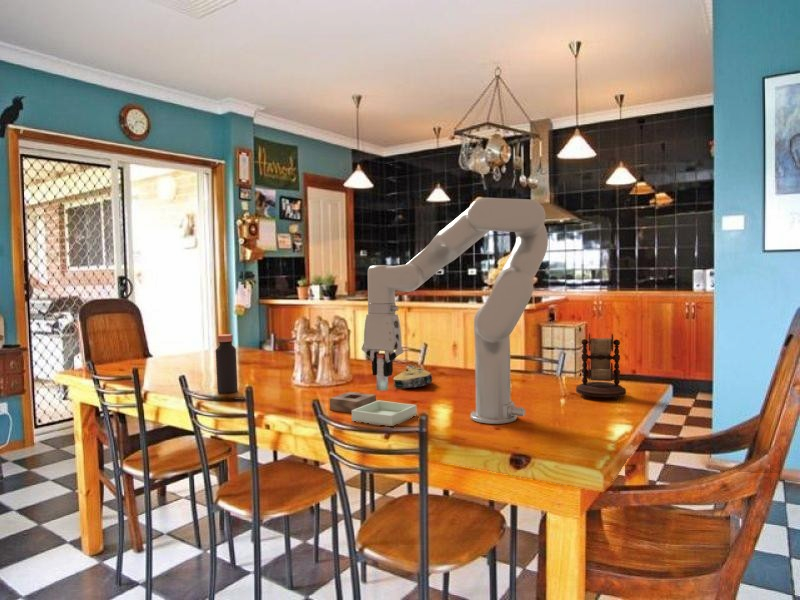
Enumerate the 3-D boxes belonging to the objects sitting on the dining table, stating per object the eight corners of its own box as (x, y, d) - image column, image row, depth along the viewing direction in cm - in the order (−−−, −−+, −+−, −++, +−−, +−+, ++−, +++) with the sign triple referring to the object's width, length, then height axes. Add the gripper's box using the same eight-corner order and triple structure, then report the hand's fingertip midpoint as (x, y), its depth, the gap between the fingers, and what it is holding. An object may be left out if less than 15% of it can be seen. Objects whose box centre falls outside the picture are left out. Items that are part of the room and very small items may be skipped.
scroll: (624, 392, 184) (624, 330, 183) (627, 403, 170) (627, 336, 169) (576, 390, 189) (576, 330, 188) (576, 400, 175) (575, 335, 174)
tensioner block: (376, 406, 174) (375, 394, 174) (356, 413, 165) (356, 401, 165) (350, 402, 179) (349, 391, 179) (329, 409, 171) (329, 398, 171)
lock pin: (390, 388, 160) (389, 353, 159) (384, 391, 157) (383, 355, 156) (380, 387, 161) (380, 352, 161) (374, 389, 159) (374, 354, 158)
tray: (416, 415, 162) (416, 405, 162) (391, 427, 151) (391, 416, 151) (378, 410, 169) (378, 400, 169) (351, 421, 158) (351, 410, 157)
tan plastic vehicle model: (434, 358, 222) (429, 373, 192) (436, 372, 222) (432, 390, 192) (398, 364, 224) (388, 379, 194) (401, 378, 224) (391, 396, 194)
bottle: (231, 394, 196) (229, 336, 195) (213, 393, 197) (211, 336, 196) (241, 389, 203) (238, 333, 201) (223, 389, 204) (221, 333, 203)
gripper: (414, 309, 157) (414, 375, 158) (365, 307, 165) (366, 370, 167) (399, 311, 150) (400, 380, 152) (349, 309, 159) (350, 374, 160)
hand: (382, 374), depth 159 cm, fingers closed on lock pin, 3 cm apart
